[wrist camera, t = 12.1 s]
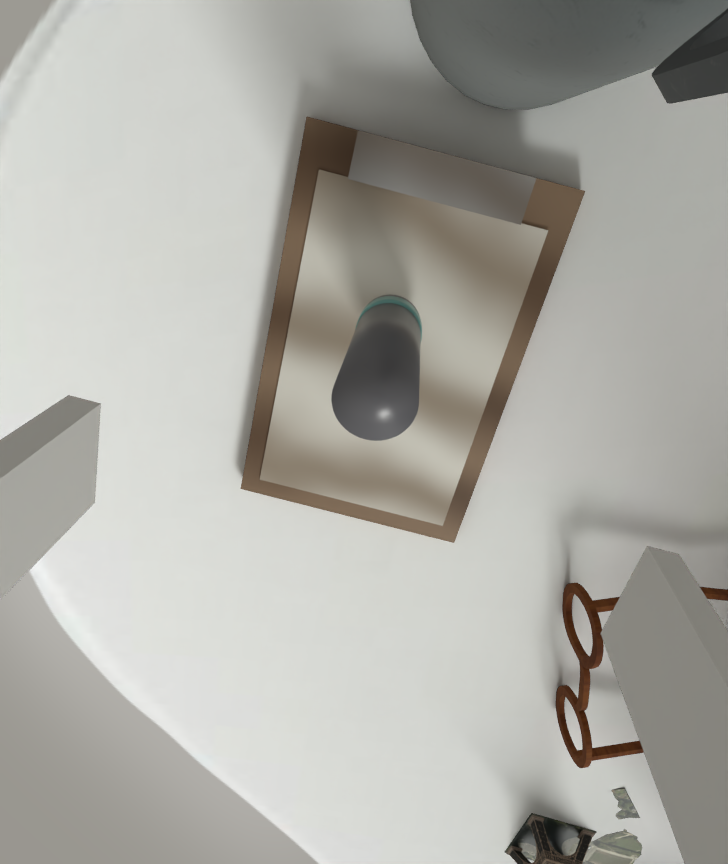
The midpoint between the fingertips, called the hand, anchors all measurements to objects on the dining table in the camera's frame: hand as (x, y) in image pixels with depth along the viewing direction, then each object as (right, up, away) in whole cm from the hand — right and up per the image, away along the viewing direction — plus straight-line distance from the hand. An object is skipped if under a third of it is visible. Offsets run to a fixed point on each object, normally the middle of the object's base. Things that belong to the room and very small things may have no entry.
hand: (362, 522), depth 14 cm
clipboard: (+1, +6, +18) cm, 19 cm away
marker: (+1, +8, +16) cm, 18 cm away
